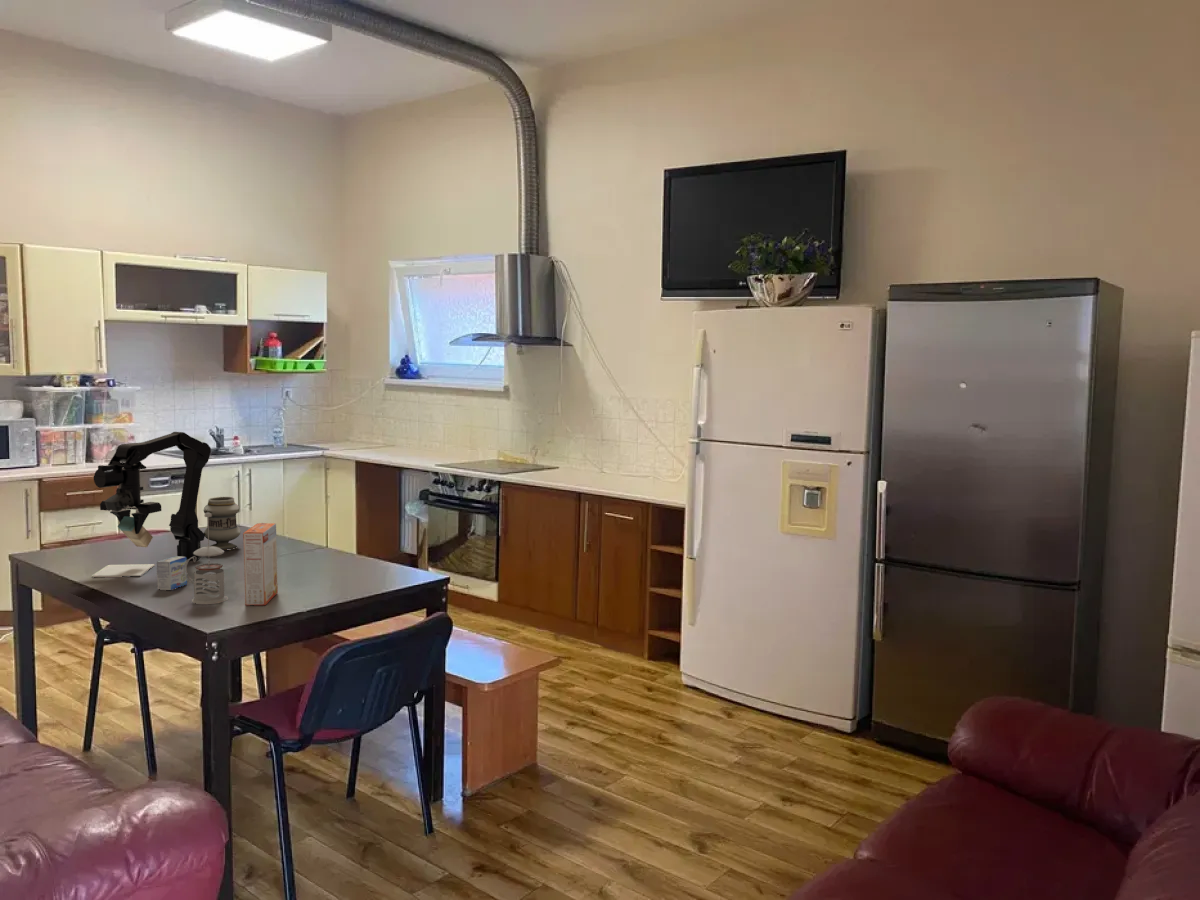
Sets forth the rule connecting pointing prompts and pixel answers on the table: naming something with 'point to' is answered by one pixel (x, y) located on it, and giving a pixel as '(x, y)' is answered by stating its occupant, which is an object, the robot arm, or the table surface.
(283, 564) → the table surface
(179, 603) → the table surface
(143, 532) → the birch block
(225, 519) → the apothecary jar
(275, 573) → the cracker box
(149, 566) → the cream square tile
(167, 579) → the medicine box
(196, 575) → the french press
